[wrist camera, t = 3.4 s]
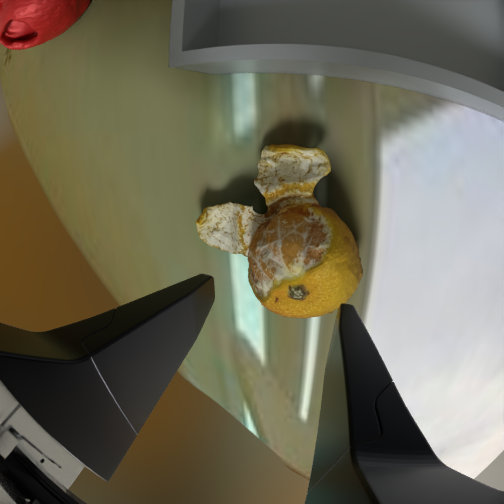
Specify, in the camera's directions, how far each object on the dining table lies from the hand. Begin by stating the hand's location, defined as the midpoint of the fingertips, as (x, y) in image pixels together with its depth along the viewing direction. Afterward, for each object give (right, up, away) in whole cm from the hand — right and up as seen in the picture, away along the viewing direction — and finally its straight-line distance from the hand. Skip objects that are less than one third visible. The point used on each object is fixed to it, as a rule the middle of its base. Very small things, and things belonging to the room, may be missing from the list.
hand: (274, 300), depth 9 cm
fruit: (-1, +5, +8) cm, 9 cm away
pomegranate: (-15, +22, +2) cm, 26 cm away
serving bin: (+5, +16, -3) cm, 17 cm away
